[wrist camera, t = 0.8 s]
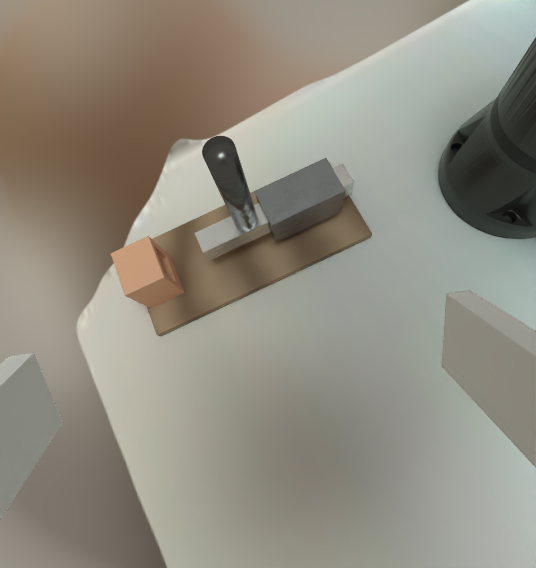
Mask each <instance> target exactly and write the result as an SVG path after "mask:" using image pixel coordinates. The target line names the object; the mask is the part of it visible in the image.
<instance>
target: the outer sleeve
mask: <svg viewBox="0 0 536 568" xmlns="http://www.w3.org/2000/svg"><path fill="white" fill-rule="evenodd" d="M254 192H255V195H256V199H257V202H258V203H260V205H261V206H262V208H263V210H264V212H265V214H266V216H267V218H268V220H269V222H270V225H271V229H272V232H271V234H272V236H273V238H274V240H275V242H276V241H279V240H281V239H283V240H286V239H288V238H291V237H293V236H295V235H297V234H299V233H301V232H303V231H305V230H308V229H310V228H312V227H314V226H316V225H318V224H320V223H322V222H325V221H327V220H329V219H331V218H332V215H334V214H336V213H338V212H340V211H342V209H343V203H344V197H345V192H346V190H345V188H344V187H343V185H342V183H341V182H340V180H339V178H338V177H337V175H336V174H335V172H334V170H333V169H332V167H331V165H330V164H329V162H328V160H327V159H326V158H325V159H322V160H320V161H318V162H316V163H314V164H312V165H310V166H307V167H305V168H303V169H301V170H299V171H297V172H295V173H292V174H290V175H288V176H286V177H284V178H282V179H280V180H277V181H275V182H273V183H271V184H269V185H267V186H265V187H262V188H260V189H258V190H256V191H254Z"/></svg>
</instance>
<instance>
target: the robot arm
mask: <svg viewBox="0 0 536 568" xmlns="http://www.w3.org/2000/svg"><path fill="white" fill-rule="evenodd" d="M439 182H440V186H441V190H442V192H443V195H444V197H445V199H446V200H447V202H448V204H449V205H450V206H451V208H452V209H453V210H454V211H455V212H456V213H457V214H458V215H459V216H460V217H461V218H462V219H463V220H465V221H466V222H467V223H469V224H471V225H472V226H474V227H476V228H477V229H480V230H482V231H484V232H487V233H489V234H492V235H496V236H500V237H506V238H532V237H536V38H535V39H534V41H533V42H532V44H531V46H530V47H529V49H528V50H527V52H526V53H525V55H524V56H523V58H522V60H521V61H520V63H519V64H518V66H517V67H516V69H515V70H514V72H513V74H512V75H511V77H510V78H509V80H508V81H507V83H506V84H505V86H504V87H503V89H502V91H501V92H500V94H499V95H498V97H497V98H496V99H495V100H493V101H492V102H491V103H490V104H488V105H487V106H486V107H484V108H483V109H482V110H481V111H479V112H478V113H477V114H475V115H474V116H473V117H472V118H470V119H469V120H468V121H467V122H465V123H464V124H463V125H462V126H461V127H460V128H459V129H458V130H457V131H456V133H455V134H454V135H453V137H452V138H451V140H450V142H449V143H448V145H447V147H446V149H445V150H444V152H443V154H442V157H441V160H440V164H439ZM442 367H443V368H444V369H445V370H446V371H447V372H448V373H449V375H450V376H451V377H452V378H453V379H454V380H455V381H456V382H457V383H458V384H459V385H460V386H461V387H462V389H463V390H464V391H465V392H466V393H467V394H468V395H469V396H470V397H471V398H472V399H473V400H474V402H475V403H476V404H477V405H478V406H479V407H480V408H481V409H482V410H483V411H484V412H485V413H486V414H487V416H488V417H489V418H490V419H491V420H492V421H493V422H494V423H495V424H496V425H497V426H498V427H499V428H500V430H501V431H502V432H503V433H504V434H505V435H506V436H507V437H508V438H509V439H510V440H511V441H512V442H513V444H514V445H515V446H516V447H517V448H518V449H519V450H520V451H521V452H522V453H523V454H524V455H525V457H526V458H527V459H528V460H529V461H530V462H531V463H532V464H533V465H534V466H535V467H536V331H535V330H533V329H532V328H530V327H528V326H527V325H525V324H524V323H522V322H520V321H519V320H517V319H515V318H514V317H512V316H511V315H509V314H507V313H506V312H504V311H502V310H501V309H499V308H498V307H496V306H494V305H493V304H491V303H489V302H488V301H486V300H485V299H483V298H481V297H480V296H478V295H477V294H475V293H473V292H472V291H470V290H469V291H462V292H455V293H448V294H446V309H445V325H444V340H443V356H442ZM62 423H63V421H62V419H61V417H60V414H59V412H58V409H57V407H56V405H55V402H54V400H53V398H52V395H51V393H50V390H49V388H48V386H47V384H46V381H45V378H44V376H43V374H42V371H41V369H40V367H39V364H38V362H37V359H36V357H35V354H34V353H30V354H23V355H16V356H9V357H8V358H7V359H6V360H5V361H4V362H2V363H1V364H0V519H1V518H2V516H3V514H4V513H5V511H6V510H7V508H8V507H9V505H10V504H11V502H12V500H13V499H14V498H15V496H16V494H17V493H18V491H19V490H20V488H21V486H22V485H23V484H24V482H25V481H26V479H27V477H28V476H29V474H30V473H31V471H32V470H33V468H34V467H35V465H36V464H37V462H38V460H39V459H40V457H41V456H42V454H43V452H44V451H45V450H46V448H47V446H48V445H49V443H50V442H51V440H52V438H53V437H54V436H55V434H56V433H57V431H58V429H59V428H60V426H61V425H62Z"/></svg>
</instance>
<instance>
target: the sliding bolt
mask: <svg viewBox="0 0 536 568" xmlns="http://www.w3.org/2000/svg"><path fill="white" fill-rule="evenodd" d="M202 154H203V158H204V160H205V162H206V164H207V166H208V168H209V170H210V172H211V175H212V177H213V179H214V181H215V183H216V185H217V187H218V190H219V192H220V194H221V196H222V198H223V200H224V202H225V204H226V207H227V209H228V211H229V213H230V215H231V216H230V217H228V218H226V219H223V220H221V221H219V222H217V223H215V224H213V225H211V226H208V227H206V228H204V229H202V230H200V231H198V232H196V233H195V235H196V238H197V240H198V242H199V245H200V247H201V249H202V252H203V253H204V255H205V256H206V257H207V258H208V260H209V261H210V260H212V259H214V258H216V257H218V256H220V255H223V254H225V253H227V252H229V251H231V250H233V249H235V248H238V247H240V246H242V245H244V244H246V243H248V242H250V241H252V240H255V239H257V238H259V237H261V236H263V235H265V234H267V233H270V232H272V229H271V225H270V222H269V220H268V218H267V216H266V214H265V212H264V210H263V208H262V206H261V205H260V203H258V204H256V205H253V201H252V198H251V195H250V192H249V189H248V185H247V182H246V179H245V176H244V173H243V170H242V166H241V163H240V160H239V157H238V154H237V150H236V147H235V144H234V142H233V141H232V140H231V139H230V138H228V137H225V136H216V137H213V138H211V139H210V140H208V141H207V142H206V143H205V145H204V147H203V150H202ZM333 170H334V172H335V174H336V175H337V177H338V178H339V180H340V182H341V183H342V185H343V187H344V188H345V190H346V192H345V197H346V196H348V195H351V194H352V189H353V185H354V181H353V179H352V178H351V176H350V174H349V173H348V171H347V170H346V168H345V166H344V165H343V164H341V165H339V166H337V167H335V168H333Z"/></svg>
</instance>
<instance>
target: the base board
mask: <svg viewBox="0 0 536 568" xmlns="http://www.w3.org/2000/svg"><path fill="white" fill-rule="evenodd" d="M326 159H327V158H326ZM329 164H330V163H329ZM332 169H333V168H332ZM250 195H251V198H252V201H253V205H256V204H258V202H257V199H256V195H255V192H252V193H250ZM230 216H231V215H230V213H229V211H228V209H227V207H226V205H224V206H222V207H220V208H218V209H215V210H213V211H211V212H209V213H207V214H205V215H203V216H200V217H198V218H196V219H194V220H192V221H190V222H188V223H185V224H183V225H181V226H179V227H177V228H175V229H173V230H170V231H168V232H166V233H164V234H162V235H160V236H158V237H155V238H153V239H152V240H153V241H154V242H155V243H156V244H157V245H159V246H160V247H161V248H162V249H163V250H164V251H165V252H166V253H167V254H168V255H169V256H170V257H171V259H172V262H173V264H174V267H175V269H176V272H177V274H178V277H179V279H180V282H181V285H182V287H183V290H184V292H185V293H183V294H181V295H179V296H177V297H174V298H172V299H170V300H168V301H166V302H164V303H162V304H160V305H157V306H155V307H153V308H149V307H147V308H148V311H149V314H150V317H151V320H152V323H153V325H154V328H155V331H156V334H157V335H158V336H162V335H164V334H167V333H169V332H171V331H173V330H175V329H177V328H179V327H181V326H184V325H186V324H188V323H190V322H192V321H194V320H196V319H198V318H201V317H203V316H205V315H207V314H209V313H211V312H213V311H215V310H218V309H220V308H222V307H224V306H226V305H228V304H230V303H232V302H235V301H237V300H239V299H241V298H243V297H245V296H247V295H249V294H251V293H254V292H256V291H258V290H260V289H262V288H264V287H266V286H268V285H271V284H273V283H275V282H277V281H279V280H281V279H283V278H285V277H288V276H290V275H292V274H294V273H296V272H298V271H300V270H302V269H305V268H307V267H309V266H311V265H313V264H315V263H317V262H319V261H322V260H324V259H326V258H328V257H330V256H332V255H334V254H336V253H339V252H341V251H343V250H345V249H347V248H349V247H351V246H353V245H355V244H358V243H360V242H362V241H364V240H366V239H368V238H370V237H371V235H372V233H371V231H370V230H369V228H368V226H367V225H366V223H365V221H364V220H363V218H362V216H361V215H360V213H359V211H358V210H357V208H356V206H355V205H354V203H353V201H352V200H351V198H350V196H349V195H348V196H346V197H344V203H343V209H342V211H340V212H338V213H336V214H334V215H332V218H331V219H329V220H327V221H325V222H322V223H320V224H318V225H316V226H314V227H312V228H310V229H308V230H305V231H303V232H301V233H299V234H297V235H295V236H293V237H291V238H288V239H286V240H283V239H281V240H279V241H276V242H275V240H274V238H273V236H272V234H271V232H270V233H267V234H265V235H263V236H261V237H259V238H257V239H255V240H252V241H250V242H248V243H246V244H244V245H242V246H240V247H238V248H235V249H233V250H231V251H229V252H227V253H225V254H223V255H220V256H218V257H216V258H214V259H212V260H210V261H209V260H208V258H207V257H206V256H205V255H204V253H203V252H202V249H201V247H200V245H199V242H198V240H197V238H196V235H195V233H196V232H198V231H200V230H202V229H204V228H206V227H208V226H211V225H213V224H215V223H217V222H219V221H221V220H223V219H226V218H228V217H230Z"/></svg>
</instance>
